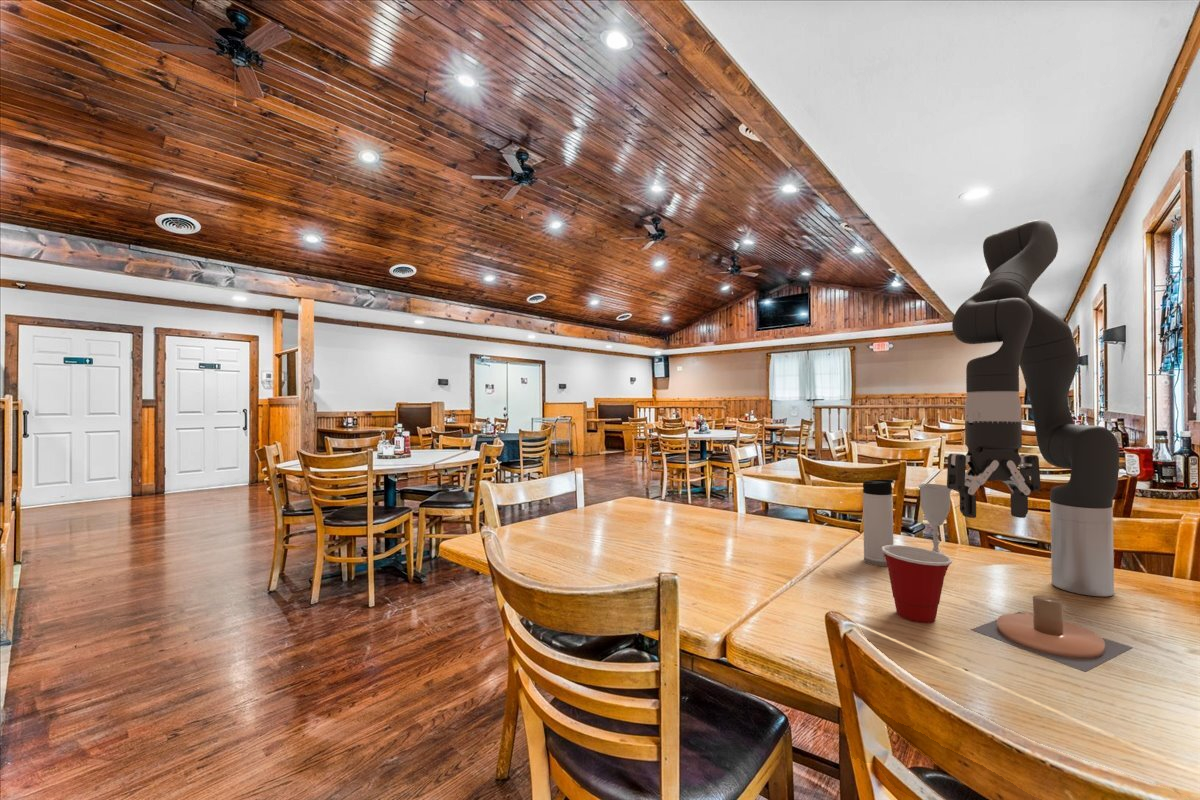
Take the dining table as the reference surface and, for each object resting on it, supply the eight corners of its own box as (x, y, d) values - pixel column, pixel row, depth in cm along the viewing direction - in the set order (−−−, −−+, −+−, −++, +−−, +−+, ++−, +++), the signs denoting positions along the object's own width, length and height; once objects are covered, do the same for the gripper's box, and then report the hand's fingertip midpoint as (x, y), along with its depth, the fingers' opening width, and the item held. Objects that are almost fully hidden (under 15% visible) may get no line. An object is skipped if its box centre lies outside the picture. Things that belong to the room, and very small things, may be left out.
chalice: (961, 566, 118) (959, 488, 118) (931, 567, 118) (930, 489, 118) (940, 556, 125) (939, 483, 125) (912, 557, 125) (911, 484, 125)
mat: (1019, 613, 92) (1019, 611, 92) (1133, 649, 79) (1132, 647, 79) (970, 631, 86) (970, 629, 86) (1085, 674, 72) (1085, 671, 72)
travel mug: (894, 568, 117) (893, 481, 117) (862, 564, 121) (861, 479, 121) (895, 560, 123) (894, 478, 123) (865, 556, 126) (863, 476, 126)
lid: (1022, 614, 91) (1021, 580, 91) (1121, 645, 79) (1120, 605, 79) (980, 630, 85) (979, 593, 85) (1080, 666, 74) (1079, 623, 74)
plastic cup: (969, 630, 86) (968, 559, 86) (908, 633, 86) (907, 562, 86) (924, 604, 97) (923, 541, 97) (870, 607, 97) (868, 543, 97)
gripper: (1014, 420, 89) (1015, 513, 89) (935, 418, 89) (936, 512, 88) (1054, 420, 82) (1055, 522, 81) (968, 418, 81) (969, 521, 80)
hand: (993, 517), depth 85 cm, fingers open, 8 cm apart
